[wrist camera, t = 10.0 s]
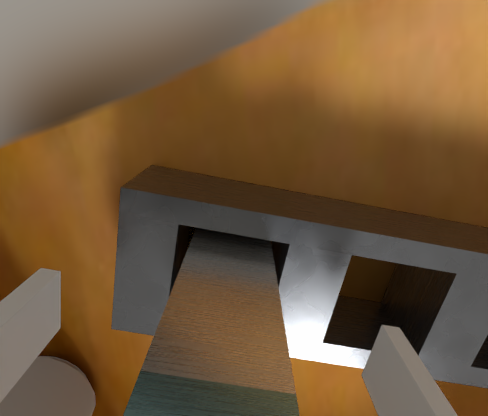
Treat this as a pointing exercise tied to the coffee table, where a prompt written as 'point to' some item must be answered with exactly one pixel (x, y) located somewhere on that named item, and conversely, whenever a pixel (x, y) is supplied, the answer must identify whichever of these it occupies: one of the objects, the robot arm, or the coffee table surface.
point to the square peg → (219, 336)
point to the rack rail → (314, 268)
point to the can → (50, 391)
